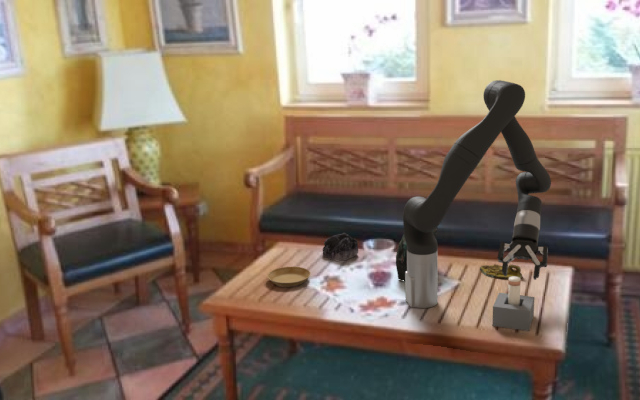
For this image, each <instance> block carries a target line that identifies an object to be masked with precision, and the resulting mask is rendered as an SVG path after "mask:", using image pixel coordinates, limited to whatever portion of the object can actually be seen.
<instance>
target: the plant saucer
mask: <svg viewBox="0 0 640 400" xmlns="http://www.w3.org/2000/svg"><path fill="white" fill-rule="evenodd" d="M310 276H311V271H310V270H309V269H307V268H305V267H301V266H284V267H283V266H282V267H279V268H275V269H273V270H271V271H269V272H268V274H267V279H268V280H270V282H271V283H272V284H274V285H275V286H277V287H280V288H281V287H283V288H293V287H297V286H300V285H302V284H304V283H305V282H306V281H307V280H308V279H309V278H310Z"/></svg>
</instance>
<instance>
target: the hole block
mask: <svg viewBox="0 0 640 400" xmlns="http://www.w3.org/2000/svg"><path fill="white" fill-rule="evenodd" d="M534 315H535V296H530V295H529V296H528V295H521V294H520V306H516V305H508V293H506V292H498V294H497V297H496V298H495V301H494V303H493V305H492V325H491V326H493V327H496V328H505V329H513V330H520V331H527V332H529V331H530V329H531V327H532V322H533V319H534Z"/></svg>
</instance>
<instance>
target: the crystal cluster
mask: <svg viewBox="0 0 640 400" xmlns="http://www.w3.org/2000/svg"><path fill="white" fill-rule="evenodd" d="M358 244H359V242H358V240H357V239H356V238H353V237H351V235H349V234H347V233H346V232H342V233H337V234H335V235H331V236H330V237H328V238H326V239H325V241H324V242H323V245H324V246H323V248H322V256H323V257H324V258H326V259H329V260H332V261H333V260H334V261H337V262H340V261H347V260H349V259H352V258H354V257H356V256H357V255H358V254H359V246H358Z"/></svg>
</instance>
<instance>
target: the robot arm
mask: <svg viewBox="0 0 640 400" xmlns="http://www.w3.org/2000/svg"><path fill="white" fill-rule="evenodd" d="M525 99H526V91H525V89H524V87H523V86H522V85H521V84H517V83H514V82H511V81H505V80H501V79H499V80H492V81H490V82H489V83H488V84H487V85H486V87H485V89H484V91H483V101H484V104H485V106H486V109H488V113H487V114H486V115H485V116H484V118H483V119H482V120H481V121H480V122H477V124H476V125H475V126H472V127H471V128H470V129H469V130H467V131H465V132H464V133H463V134H461V136H459V138H457V139H456V140H455V142H454V143H453V145H452V146H451V148H450V149H449V151H448V152H446V153H447V154H446V155H445V156H444V159H443V161H442V166H441V170H440V174H439V177H438V180H437V183H436V185H435V186H434V188H433V189H432V190H431V192H430V194H429V195H428V196H427V197H426V198H425V197H423V196H419V195H418V196H413V197H411V198H410V199H408V201H407V202H406V203H405V205H404V208H403V212H402V213H403V214H402V221H403V222H402V225H403V235H404V238H405V242H406V245H407V271H406V272H405V282H404V283H405V284H404V285H405V288H404V289H405V301H406V303H407V304H408V305H409V306H410V307H411V308H419V309H423V308H424V309H428V308H433V307H434V306H436V305H437V304H438V299H439V297H438V296H439V295H438V293H439V292H438V284H439V283H438V274H439V273H438V268H439V267H438V262H439V260H438V255H439V254H438V253H439V251H438V241H437V239H436V237H434V235H433V232H432V231H433V230H434V229H436V228H438V227H439V225H440V224H441V223H442V221H443V219H444V218H445V216H446V215H447V212H448V210H449V209H450V207H451V206H452V204H453V202H454V200H455V198H456V196H457V195H458V194H459V193H460V191H461V190H462V188H463V186H464V185H465V184H466V182H467V181H468V179H469V177H470V176H471V175H472V174H473V172H474V171H475V169H476V168H477V167H478V165H479V164H480V162H481V161H482V160H483V159H484V156H485V155H486V154H487V152H488V150H489V149H490V148H491V146H492V145H493V144H494V143H495V141H496V139H497V138H498V137H499V135H500V134H501V135H502V137H503V138H504V141H505V144H506V146H507V148H508V150H509V151H508V152H509V154H510V156H511V159H512V162H513V164H514V167H515V168H516V170H517V171H520V173H519V174H518V175H517V176H516V178H515V187H516V192H517V199H518V200H517V202H518V204H517V210H516V216H515V220H514V223H513V233H512V238H511V242H510V243H505V241H501V242H500V244H499V248H498V253H497V261H498V263H501V264H502V265H501V266H502V273H503V274H504V276H507V271H508V266H509V265H510V263H511V262H512V261H514V260H516V259H517V260H525V261H528V260H531V262H532V264H534V268H533V269H534V270H533V274H532V275H533V280H537V279H538V278H539V277H540V272H541V268H547V267H548V259H549V258H548V254H549V250H548V249H549V248H548V246H547V245H544V246H538V243H539V236H540V235H539V234H540V230H541V214H542V206H543V203H542V200H541V198H540V197H538V196H535V195H530V194H540V193H541V194H542V193H546V192H548V191H549V190H550V188H551V186H552V179H551V176H550V174H549V172H548V171H547V169H546V168H545V166H544V165H543V164H542V163H541V162H540V160H539V158H538V157H537V154H536V151H535V148H534V145H533V143H532V140H531V139H530V137H529V135H528V133H527V132H526V130H525V129H524V128H523V127H522V126H521V124H520V123H519V121H518V120H517V118H516V116H517V114H518V113H519V111H520V110H521V108H522V107H523V105H524V103H525ZM508 249H509V250H510V251H509V252H508V253H507V255H506V256H505V257H504V255H505V251H506V252H507V250H508ZM538 252H539V253H540V254H541V255H542V261H539V259H538V258H537V255H536V254H538Z"/></svg>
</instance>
